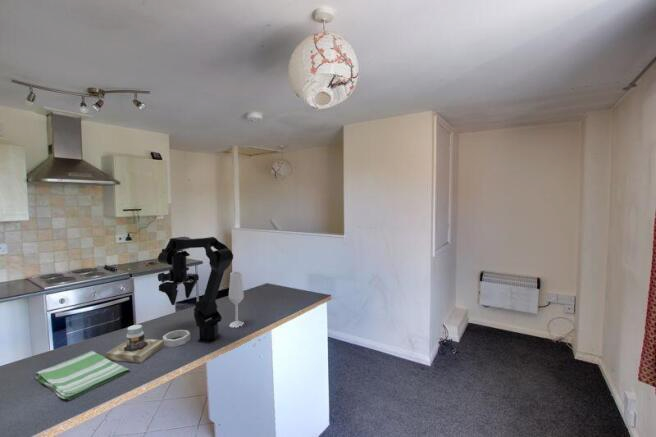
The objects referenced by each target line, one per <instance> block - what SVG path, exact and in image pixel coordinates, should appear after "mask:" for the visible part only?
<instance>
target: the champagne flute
mask: <svg viewBox="0 0 656 437" xmlns="http://www.w3.org/2000/svg"><path fill="white" fill-rule="evenodd" d="M228 287H229V288H228V289H229V290H228V300H229V301H230V302H231V303H232V304H233V305H234V315H235V317H234V318H235V320H234V321H232V322H231V323H229V324H230V325H229V324H228V326H229V327H230V328H234V327H235V328H240V327H239V326H241V327H243V326H244V325H245V322H243V321H241V320H239V307H238V306H239V304H240V303H241V301H243V299H244V296H245V294H244V286H243V277H242V272H241V271H233V272H230V274H229V286H228ZM243 324H244V325H243ZM242 325H243V326H242Z"/></svg>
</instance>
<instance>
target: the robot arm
mask: <svg viewBox="0 0 656 437" xmlns="http://www.w3.org/2000/svg"><path fill="white" fill-rule="evenodd" d="M212 247H213V248H214V249H215V250H213V249H212ZM193 248H194V249H195V248H198V249H199V248H200V249H201V248H204V251H205V256H206V257H207V258H208V259H209V263H208V264H209V267H210V273H209V277H208V280H207V284H206V287H205V289H204V290H205V291H204V294H203V297H202V299H201V300H198V301H196V302H195V306H194V309H193V311H194V312H193V316H194V320H195V324H196V327H197V328H198V330H199V332H198V334H199V339H197V341H198V342H204V343H213V342H215V341H216V340H218V338H219V337H220V336H221V334H220V333H219V322H220V323H221V321H222V318H223V317H222V315H221V313H220V312H219V311H218V304H217V302H216V301H217V297H218V294H219V290H220V287H221V283H222V281H223V277H224V274H225V271H226V270H227V269H228V268H229V267H230V266H231V263H232V261H233V259H234V254H233V252H232V250H231V249H230V248H229V247H228V246H227V245H226V244H224V243H222V242H221V241H219V240H218V239H217V238H216V237H215V236H210V237H209V236H208V237H201V238H190V237H188V236H179V237H172V238H169V241H168V243H167V245H166V246H165V248H162V249H161V251H160V253H159V254H158V256H157V261H158V263H159V264H162V265H167V266H168V265H169V266H171V268H170V269H168V273H165V272H161V273H158V274H157V280H158V282H161V283H160V284H159V285H158V291H159V292H161V293H165V294H166V296H167V298H168V300H169V302H170V304H171V306H175V304H176V300H177V296H178V292H179V289H178V286H179V285H182V284H183V286H184V292H185V293H184V294H185V298H186V299H189V297H190V296H191V294H192V292H193V290H194V287H195V286H196V284H197V283H198V281H199V279H200V277H199V275H198V273H188V271H189V270H190V267H188V265H187V257H190V255H191V254H190V253H189V252H187V250H189V249H193Z"/></svg>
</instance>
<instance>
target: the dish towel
mask: <svg viewBox="0 0 656 437" xmlns="http://www.w3.org/2000/svg"><path fill="white" fill-rule="evenodd" d="M130 372H131V369H130V368H127V367H126V366H123V365H121V364H119V363H116V362H114V361H113V360H108V359H107V358H106V356H103V355H101V354H99V353H97V352H95V351H94V350H90V351H88V352H85V353H83V354H80V355H78V356H76V357H73V358H70V359H69V360H66V361H62V362H61V363H59V364H55V365H53V366H49V367H48V368H45V369H41V370H38V371H37V372H35V377H34V379H36V380H37V381H38V382H40V383H41V384H42V385H44V386H46V387H47V388H49V390H51V391H52V392H54V393H55V394H56V395H57V396H58V397H59V398H60V399H63V400H68V401H71V400H73V399H75V398H78V397H79V396H82V395H84V394H85V393H88V392H90V391H93V390H94V389H96V388H98V387H100V386H102V385H105V384H106V383H109V382H111V381H112V380H116V379H119V378H121V377H123V376H126V375H127V374H129V373H130Z"/></svg>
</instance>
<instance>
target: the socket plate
mask: <svg viewBox="0 0 656 437" xmlns="http://www.w3.org/2000/svg"><path fill="white" fill-rule="evenodd" d="M144 347H145V348H143V349H141V350H137V351H133V352H129V351H127V347H126V340H125V341H124V342H122V343H120V344H118V345H117V346H115V347H114V348H112V349H110V350H108V351H107V352H105V358H107V359H108V360H110V361H117V362H128V363H139V364H142V363H143V362H145V361H146V360H148V359H149V358H151V356H153V355H154V354H156V353H157V352H158V351H160V350H162V349H163V348H164V347H165V346H164V340H163V339H151V338H150V339H149V338H144Z"/></svg>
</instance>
